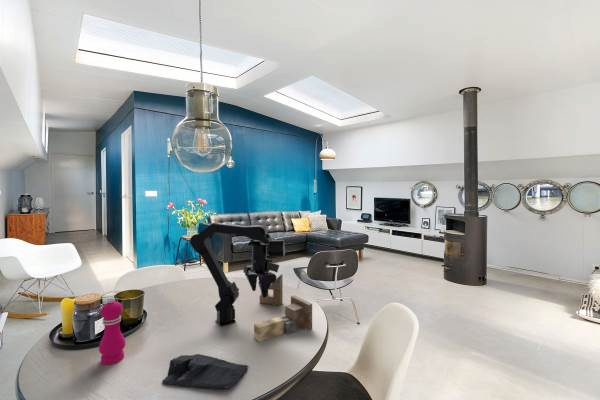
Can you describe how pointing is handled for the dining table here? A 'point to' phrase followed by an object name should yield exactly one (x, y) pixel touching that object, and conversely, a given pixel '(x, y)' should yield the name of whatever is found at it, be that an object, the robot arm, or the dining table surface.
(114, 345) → the pepper mill
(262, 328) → the tan oblong piece
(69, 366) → the dining table surface
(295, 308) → the brown boxy piece
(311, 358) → the dining table surface
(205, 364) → the dark slate chunk
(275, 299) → the wooden block
